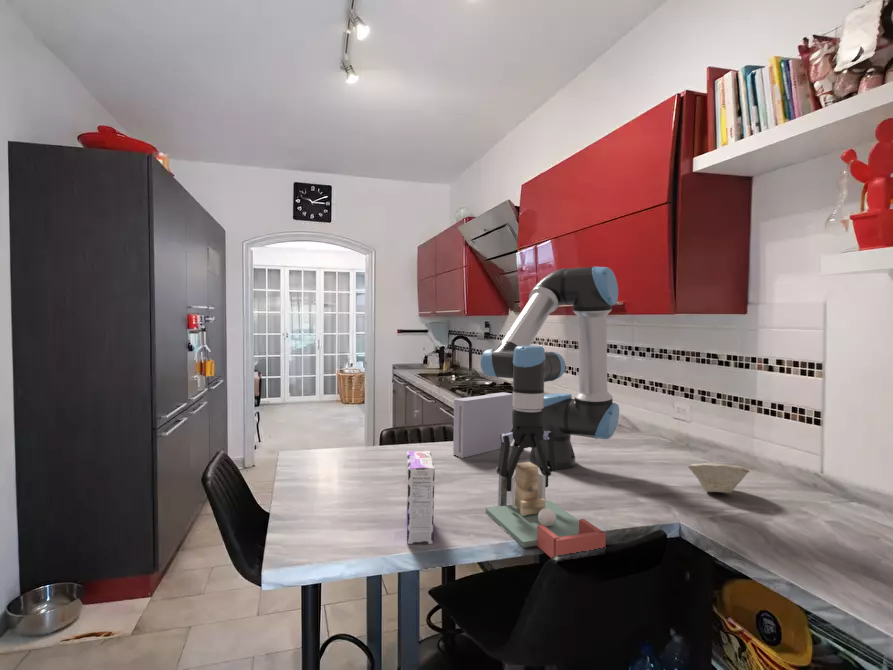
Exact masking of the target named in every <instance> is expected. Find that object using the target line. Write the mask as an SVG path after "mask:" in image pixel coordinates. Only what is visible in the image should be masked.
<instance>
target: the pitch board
mask: <svg viewBox="0 0 893 670" xmlns="http://www.w3.org/2000/svg"><path fill="white" fill-rule="evenodd" d="M545 508H550V509H552V510H553V511H554V513H555V515H556V521H555V523H554V524H553V525H552V526H550V527H546V526H545V527H546V528H548V529H549V530H550V531H552V532H553V533H554V534H556V535H557V536H558V537H564V536H571V535H577V534H579V519H578V518H577V517H576V516H574V515H573V514H571V513H570V512H568V511H566V510H565V509H563V508H562V507H560V506H559V505H557V504H556V503H554V502H553V501H551V500H545ZM485 513H487V514H488V515H489V516H488V515H487V514H486V515H487V516H488V517H490V519H492V518H493V519H494V520H495V521H496V522H497V523H498V524H499V525H500V526H502V527H503V528H504V529H505V530H506V531H507V532H508V533H509V534H510V535H511V536H512V537H513V538H514V539H515V540H516V541H515V540H514V539H513V538H512V537H511V536H510V535H509V534H508V533H507V532H506V531H505V530H504V531H505V532H506V533H507V534H508V535H509V536H510V537H511V538H512V539H513V540H514V541H515V542H516V543H517V544H518V545H519V546H520V547H522V548H523V549H525V548H530V547H538V546H537V525H542V524H541V523H540V522H539V520H538V514H539V513H538V514H529V515H522V514H520V509H518V508H517V507H516V506H511V505H510V504H509V505H508V504H507V506H499V505H498V506H492V507H485ZM493 519H492V520H493ZM494 520H493V521H494ZM495 521H494V522H495ZM496 522H495V523H496ZM497 523H496V524H497ZM498 524H497V525H498ZM499 525H498V526H499ZM500 526H499V527H500Z"/></svg>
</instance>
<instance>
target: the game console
mask: <svg viewBox="0 0 893 670" xmlns="http://www.w3.org/2000/svg"><path fill="white" fill-rule="evenodd" d="M513 409H515V408H514V407H513V393H509V392H504V391H503V392H496V393H488V394H484V395H475V396H467V397H461V398H454V399H453V444H452V445H453V446H452V451H453V453H452V454H453V456H454V455H456V456H455V457H457V456H458V458H462V459H463V458H464V457H465V458H468V457H473V456H475V455H480V454H484V453H485V454H486V453H489V452H492V451H496V450H500V448H501V439H500V434H502V433H503V434H507V433H511V430H512V428H513V425H512V411H513ZM512 442H514V439H513V438H512V439H511V442H510V445H512Z"/></svg>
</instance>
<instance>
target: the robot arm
mask: <svg viewBox="0 0 893 670" xmlns="http://www.w3.org/2000/svg"><path fill="white" fill-rule="evenodd" d="M618 296H619V286H618V281H617V278H616V275H615V273H614V271H613V270H612V269H611V268H609V267H606V266H588V267H587V266H586V267H585V266H584V267H572V268H560V269H557V270H555V271H552V272H550V273H549V274H547V275H545V276H544V277H543V278H542V279H541V280H539V281H538V282H537V283H535V285H534V287H533V288H532V289H531V291H530V293H529V294H528V301H527V302H526V304H525V306H524V307H523V309H522V311H520V313H519V315H518V316H517V317H516V319H515V321H514V322H513V324H512V325H511V326H510V328H509V329H508V331H507V332H506V333H505V336H504V337H503V338H502V340H501V341H500V343H499V344H498V346H497V348H496V349H495V348H491V349H490V348H489V349H486V350H484V351H483V352H482V354H481V356H480V362H479V363H480V368H481V371H482V373H483V374H484V375H485V376H488V377H494V378H500V379H501V378H504V379H512V383H513V384H512V394H513V407H514V409H513V411H512V425H513V428H512V430H511V433H507V434H503V433H502V434H500V439H501V448H500V449H499V455H498V460H497V461H498V463H497V466H498V467H497V466H496V474H498V476H499V475H501V476H502V477H504V489H505V490H506V491H507V504H509V505H511V506H515V478H513V477H512V476H513V474H515V472H516V469H515V468H516V466H517V463H519V461H520V458H521V455H522V453H523V452H524V451H525V449H528V448H531V450H530V452H529V462H531V463H533V464H534V465H536V466H538V469H539V471H540V472H538V498H537V499H542V498H543V499H544V500H545V501H546V488H548V486H549V477H550V476H551V475H552V473H555V472H556V470H561V469H562V470H563V469H570V468H573V467H575V466H576V456H575V452H574V448H573V444H572V442H571V440H572V439H571V435H572V436H577V437H579V436H580V437H585V438H591V439H595V440H599V439H600V440H609V439H611V438H612V437H613V436H614V435H615V433H616V430H617V427H618V423H619V419H620V408H619V407H620V406H619V404H618V403H615V402H613V395H612V394H611V393H610V392H609V391H608V342H607V341H608V338H607V336H608V331H607V328H608V327H607V326H608V322H607V321H608V320H607V316H608V315H609V314H610V312H612V310H613V307H612V306H614V305H616V304H617V302H618V300H619V297H618ZM560 306H572V312H573V313H574V314H575V315H576V316H577V333H578V334H577V335H578V336H577V338H578V339H577V341H578V342H577V343H578V385H579V386H578V387H579V390H578V391H577V393H575V395H574V398H573V396H572V394H571V393H568V392H567V393H566V392H565V393H564V392H561V393H560V392H559V393H548V394H545V382H553V381H556V380H558V379H559V378H562V376H563V375H564V374H565V371H566V367H567V365H566V362H565V358H564V357H563V356H562V355H561V354H560V353H558V352H555V351H552V350H551V351H547V350H546V351H545V348H544V347H543V346H541V345H532V343H533V341H534V340H535V338H536V337H537V334H538V333H540V330H541V329H542V327H543V325H544V324H545V322H546V320H547V319H548V316H549V315H550V314H551V313H553V312H555V311H556V310H557V309H558V307H560ZM512 438H513V444H512V449H511V453H510V447H511V444H510V442H511V439H512Z"/></svg>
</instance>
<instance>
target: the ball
mask: <svg viewBox="0 0 893 670" xmlns="http://www.w3.org/2000/svg"><path fill="white" fill-rule="evenodd" d="M538 520H539V522H540V523H541V524H543V525H544V526H546V527H550V526H552V525H553V524H554V523H555V521H556V515H555V513H554V511H553V510H552V509H550V508H543V509H542V510H540V512H539V514H538Z"/></svg>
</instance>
